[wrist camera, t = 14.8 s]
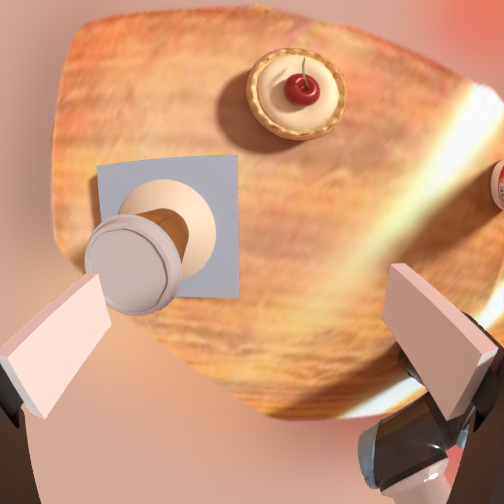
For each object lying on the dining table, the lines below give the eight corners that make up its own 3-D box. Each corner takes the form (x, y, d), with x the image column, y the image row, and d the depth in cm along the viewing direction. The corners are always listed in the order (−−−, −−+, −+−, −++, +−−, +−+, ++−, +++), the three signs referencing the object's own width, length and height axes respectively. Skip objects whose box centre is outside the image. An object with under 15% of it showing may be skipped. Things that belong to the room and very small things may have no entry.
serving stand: (239, 284, 41) (238, 299, 36) (124, 282, 41) (113, 295, 36) (237, 154, 35) (235, 154, 30) (110, 164, 35) (95, 166, 30)
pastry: (254, 145, 35) (252, 145, 26) (242, 62, 31) (236, 38, 22) (344, 138, 34) (368, 136, 25) (332, 56, 30) (350, 34, 21)
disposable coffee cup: (155, 280, 36) (120, 333, 24) (116, 219, 33) (63, 251, 21) (216, 248, 34) (200, 296, 23) (176, 179, 31) (137, 195, 20)
